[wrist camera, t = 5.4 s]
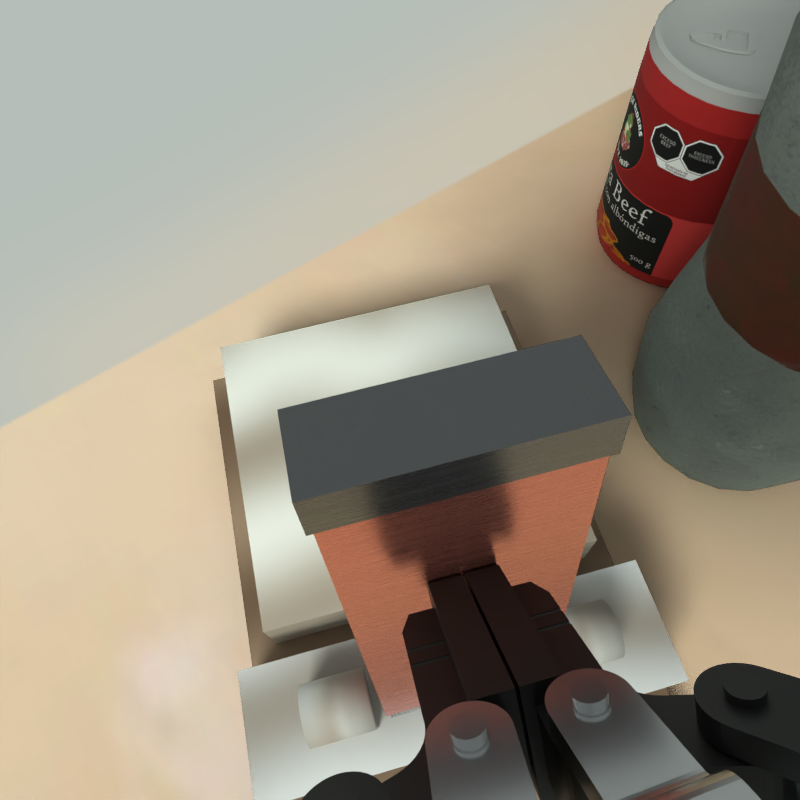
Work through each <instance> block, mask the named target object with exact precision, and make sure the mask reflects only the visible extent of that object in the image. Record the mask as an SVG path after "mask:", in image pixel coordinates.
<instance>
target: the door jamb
mask: <svg viewBox="0 0 800 800" xmlns="http://www.w3.org/2000/svg"><path fill="white" fill-rule="evenodd" d="M518 350H522V349H521V346H520V344H519V342H518V339H517V337H516V335H515V332H514V330H513V328H512V325H511V323H510V321H509V318H508V316H507V314H506V311H502V312H500V309H499V307H498V304H497V302H496V300H495V297H494V295H493V293H492V290H491V288H490V285H484V286H480V287H476V288H471V289H467V290H463V291H459V292H454V293H450V294H446V295H442V296H437V297H433V298H429V299H425V300H420V301H416V302H412V303H408V304H403V305H399V306H395V307H391V308H386V309H382V310H378V311H374V312H369V313H365V314H361V315H357V316H352V317H348V318H344V319H340V320H335V321H331V322H327V323H323V324H318V325H314V326H310V327H306V328H301V329H297V330H293V331H289V332H284V333H280V334H276V335H272V336H267V337H263V338H259V339H255V340H250V341H246V342H242V343H238V344H233V345H229V346H225V347H221V354H222V361H223V367H224V374H225V378H222V379H218V380H214V381H213V383H214V391H215V398H216V405H217V412H218V420H219V427H220V434H221V441H222V449H223V456H224V463H225V471H226V478H227V485H228V492H229V500H230V507H231V514H232V521H233V529H234V536H235V543H236V550H237V558H238V565H239V572H240V579H241V587H242V594H243V601H244V608H245V616H246V623H247V630H248V637H249V645H250V652H251V659H252V667H251V668H248V669H244V670H241V671H238V679H239V687H240V694H241V702H242V710H243V718H244V726H245V734H246V742H247V750H248V758H249V766H250V773H251V781H252V789H253V797H254V800H302V799H303V797H304V796H305V795H306V794H307V793H308V792H309V791H310V790H311V789H312V788H313V787H314V786H315V785H317V784H318V783H320V782H321V781H323V780H325V779H326V778H328V777H331V776H333V775H336V774H339V773H343V772H351V771H356V772H364V773H368V774H370V775H372V776H374V777H376V778H377V779H378V780H380V782H381V783H383V782H384V781H386V780H387V779H389V778H391V777H392V776H394V775H395V774H397V773H398V772H400V771H401V770H403V769H404V768H405V767H406V766H407V765H408V764H410V763H411V762H412V760H413V759H414V758H415V757H416V755H417V754H418V752H419V751H420V749H421V747H422V744H423V741H424V737H425V724H424V720H423V716H422V712H421V709H420V710H417V711H413V712H410V713H407V714H403V715H400V716H396V717H393V718H391V716H390V715H389V716H386V714H385V712H384V709H383V707H382V704H381V702H380V699H379V697H378V694H377V692H376V689H375V687H374V684H373V682H372V679H371V677H370V674H369V672H368V669H367V667H366V664H365V662H364V659H363V657H362V654H361V652H360V649H359V647H358V644H357V642H356V639H355V637H354V634H353V632H352V629H351V627H350V624H349V622H348V619H347V617H346V614H345V612H344V609H343V607H342V604H341V602H340V599H339V597H338V594H337V592H336V589H335V587H334V584H333V582H332V579H331V577H330V574H329V572H328V569H327V567H326V564H325V562H324V559H323V557H322V554H321V552H320V549H319V547H318V544H317V542H316V539H315V537H314V534H312V535H308V536H306V535H305V533H304V530H303V528H302V525H301V523H300V521H299V518H298V516H297V513H296V511H295V509H294V506H293V504H292V499H291V493H290V487H289V481H288V474H287V468H286V462H285V456H284V450H283V443H282V437H281V431H280V425H279V418H278V412H277V410H278V409H282V408H286V407H290V406H294V405H298V404H302V403H306V402H310V401H314V400H318V399H322V398H327V397H331V396H335V395H339V394H343V393H347V392H351V391H355V390H359V389H363V388H367V387H371V386H375V385H379V384H384V383H388V382H392V381H396V380H400V379H404V378H408V377H412V376H416V375H420V374H424V373H428V372H432V371H436V370H441V369H445V368H449V367H453V366H457V365H461V364H465V363H469V362H473V361H477V360H481V359H485V358H489V357H493V356H498V355H502V354H506V353H510V352H514V351H518ZM565 615H566V617H567V618H568V620H569V622H570V624H572V625H573V627H574V628H575V630H576V631H577V633H578V634H579V636H580V637H581V638H582V640H583V641H584V643H585V644H586V646H587V647H588V648H589V650H590V651H591V653H592V654H593V656H594V657H595V659H596V660H597V661H598V663H599V664H600V666H601V667H602V669H603V670H606V671H609V672H612V673H615V674H617V675H619V676H620V677H622V678H623V679H625V680H626V681H627V682H628V683H629V684H630V685H631V686H632V687H633V688H634V689H635V691H636V692H639V693H643V694H649V695H669V693H668V690H667V688H666V687H669V686H673V685H676V684H679V683H682V682H685V681H689V679H688V676H687V674H686V672H685V670H684V667H683V665H682V663H681V661H680V659H679V656H678V654H677V652H676V650H675V647H674V645H673V643H672V641H671V638H670V636H669V634H668V632H667V629H666V627H665V625H664V623H663V620H662V618H661V616H660V614H659V611H658V609H657V607H656V605H655V602H654V600H653V598H652V596H651V593H650V591H649V589H648V587H647V584H646V582H645V580H644V578H643V575H642V573H641V571H640V569H639V567H638V564H637V562H636V560H633V561H629V562H626V563H622V564H619V565H615V566H614V564H613V562H612V559H611V557H610V555H609V552H608V550H607V548H606V545H605V543H604V541H603V538H602V536H601V534H600V531H599V529H598V527H597V524H596V522H595V520H594V517H592V521H591V525H590V528H589V532H588V535H587V539H586V542H585V546H584V549H583V553H582V557H581V560H580V564H579V567H578V571H577V574H576V578H575V581H574V585H573V589H572V592H571V596H570V599H569V603H568V606H567V610H566V614H565ZM535 791H536V790H535ZM536 794H537V793H536ZM537 798H538V800H539V797H538V795H537Z"/></svg>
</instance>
